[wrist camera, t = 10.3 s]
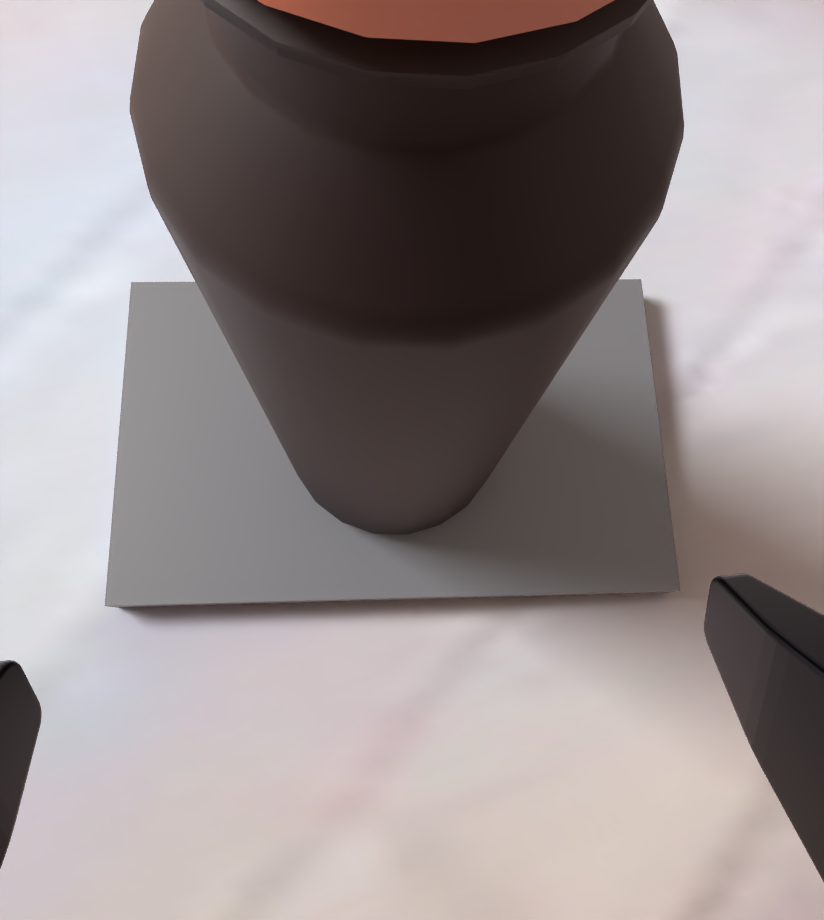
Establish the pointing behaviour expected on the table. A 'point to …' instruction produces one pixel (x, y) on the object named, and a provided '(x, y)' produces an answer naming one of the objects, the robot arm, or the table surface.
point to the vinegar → (405, 214)
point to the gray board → (350, 548)
